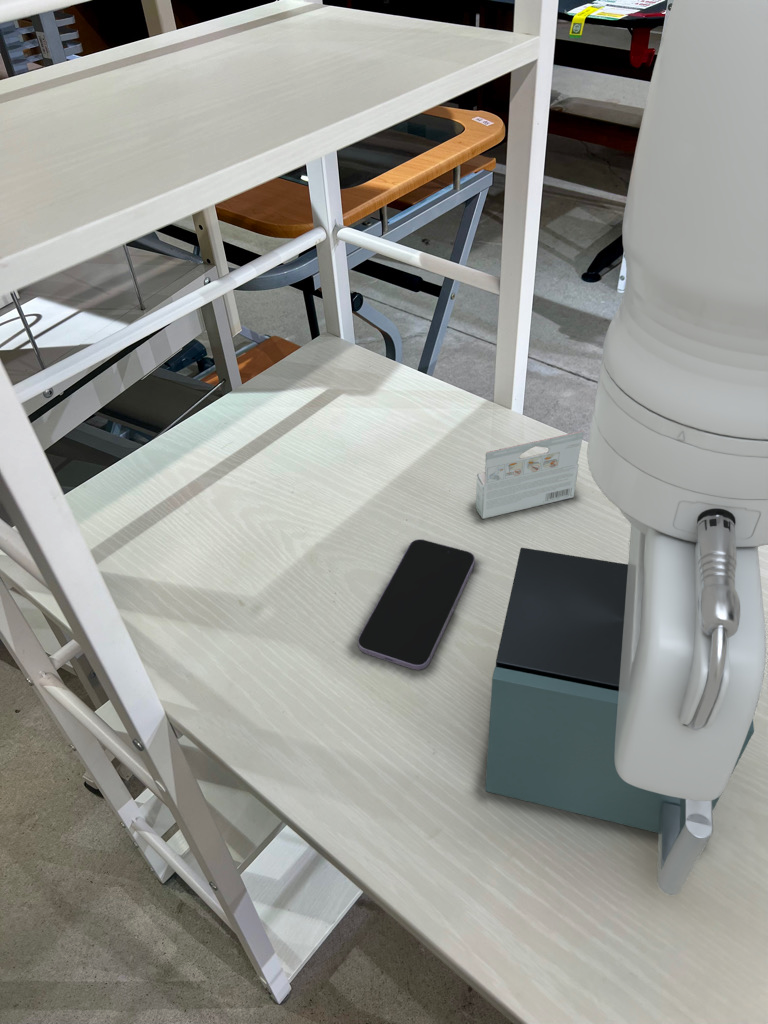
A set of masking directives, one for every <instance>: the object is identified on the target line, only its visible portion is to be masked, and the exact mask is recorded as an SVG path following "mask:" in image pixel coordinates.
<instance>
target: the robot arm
mask: <svg viewBox="0 0 768 1024" xmlns="http://www.w3.org/2000/svg"><path fill="white" fill-rule="evenodd" d="M641 117H642V118H641V123H640V127H639V131H638V136H637V141H636V146H635V151H634V156H633V162H632V165H631V170H630V176H629V177H630V178H629V183H628V189H627V196H626V201H625V207H624V213H623V219H622V228H621V230H622V232H621V233H622V248H623V255H624V260H625V269H626V270H625V271H626V272H625V285H624V289H623V293H622V298H621V299H620V303H619V305H618V308H617V309H616V311H615V313H614V315H613V316H612V319H611V321H610V323H609V325H608V327H607V330H606V334H605V338H604V341H603V345H602V353H601V360H600V365H599V372H598V377H597V384H596V390H595V396H594V403H593V411H592V415H591V424H590V429H589V435H588V442H587V449H586V460H587V465H588V470H589V472H590V475H591V477H592V479H593V481H594V483H595V485H596V486H597V487H598V489H599V490H600V491H601V493H602V494H603V495H604V496H605V498H607V499H608V501H610V503H612V504H613V505H614V506H615V507H616V508H617V509H618V510H619V511H620V513H621V514H622V515H623V517H624V518H625V519H626V520H627V521H628V522H629V524H630V533H629V536H630V537H629V546H628V547H629V548H628V560H627V564H628V573H627V587H626V600H625V614H624V627H623V641H622V654H621V668H620V681H619V695H618V708H617V722H616V735H615V754H614V761H615V768H616V771H617V773H618V774H619V776H620V777H621V778H622V780H624V781H625V782H627V783H628V784H631V785H633V786H635V787H638V788H641V789H645V790H648V791H651V792H655V793H659V794H663V795H667V796H672V797H677V798H682V799H689V800H695V801H711V800H714V799H716V798H718V797H719V796H720V795H721V796H722V795H723V793H724V791H725V789H726V788H727V786H728V783H729V781H730V779H731V777H732V775H731V774H733V773H734V771H733V769H734V767H735V764H736V762H737V759H738V757H739V755H740V752H741V749H742V747H743V744H744V741H745V739H746V736H747V733H748V731H749V728H750V725H751V723H752V720H753V721H754V717H755V713H756V711H757V707H758V703H759V699H760V697H761V693H762V688H763V682H764V676H765V669H766V658H767V629H766V620H765V609H764V599H763V588H762V587H763V586H762V577H761V567H760V566H761V565H760V556H759V547H762V546H768V0H673V2H672V4H671V7H670V11H669V14H668V18H667V20H666V24H665V27H664V30H663V34H662V37H661V41H660V44H659V48H658V52H657V56H656V59H655V62H654V67H653V70H652V75H651V79H650V83H649V87H648V92H647V95H646V100H645V103H644V108H643V112H642V116H641ZM735 768H736V767H735ZM734 770H735V769H734ZM732 772H733V773H732ZM730 776H731V777H730ZM721 796H720V797H721Z"/></svg>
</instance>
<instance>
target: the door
mask: <svg viewBox="0 0 768 1024" xmlns="http://www.w3.org/2000/svg"><path fill="white" fill-rule="evenodd" d="M492 673H493V674H492V678H491V692H490V707H489V708H490V710H489V724H488V738H487V739H488V741H487V757H486V770H485V771H486V772H485V788H484V791H485V792H487V793H491V794H495V795H500V796H503V797H507V798H512V799H516V800H520V801H525V802H528V803H533V804H537V805H541V806H545V807H549V808H554V809H558V810H562V811H566V812H570V813H575V814H579V815H583V816H585V817H591V818H595V819H599V820H603V821H607V822H612V823H616V824H620V825H624V826H628V827H632V828H636V829H639V830H640V829H641V830H644V831H648V832H653V833H656V834H658V837H657V838H658V839H657V875H656V882H657V886H658V888H659V889H660V891H661V892H663V894H665V895H668V896H671V897H672V896H677V895H679V894H680V893H681V891H682V890H683V888H684V886H685V884H686V883H687V881H688V879H689V876H690V874H691V873H692V871H693V870H694V868H695V865H696V864H697V862H698V860H699V858H700V857H701V855H702V853H703V851H704V849H705V847H706V846H707V843H708V842H709V840H710V839H711V836H712V835H713V832H714V817H713V816H714V815H713V813H714V812H713V811H714V809H715V807H716V806H717V804H718V802H719V800H720V797H721V796H722V794H721V795H720V796H719V797H718V798H716V799H714V800H711V801H695V800H689V799H682V798H677V797H672V796H667V795H663V794H659V793H655V792H651V791H648V790H645V789H641V788H638V787H635V786H633V785H631V784H628V783H627V782H625V781H624V780H622V778H621V777H620V776H619V774H618V773H617V771H616V768H615V761H614V754H615V735H616V722H617V708H618V695H619V691H615V690H610V689H605V688H600V687H595V686H590V685H585V684H580V683H575V682H570V681H565V680H559V679H554V678H549V677H544V676H539V675H534V674H529V673H524V672H519V671H514V670H509V669H504V668H499V667H496V666H494V668H493V672H492ZM754 725H755V724H754V719H753V720H752V723H751V725H750V728H749V731H748V733H747V736H746V739H745V741H744V744H743V747H742V749H741V752H740V755H739V757H738V759H737V762H736V764H735V767H734V769H733V772H732V774H733V773H734V771H735V769H736V767H737V765H738V763H739V761H740V759H741V758H742V756H743V754H744V752H745V750H746V748H747V746H748V744H749V742H750V740H751V738H752V737H753V735H754V733H755V726H754ZM732 774H731V776H730V778H731V777H732Z"/></svg>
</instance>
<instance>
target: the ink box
mask: <svg viewBox="0 0 768 1024" xmlns="http://www.w3.org/2000/svg"><path fill="white" fill-rule="evenodd" d="M583 437H584V430H581V431H576V432H572V433H567V434H563V435H558V436H554V437H550V438H545V439H540V440H536V441H531V442H527V443H522V444H518V445H513V446H508V447H504V448H499V449H495V450H490V451H487V452H485V466H484V472H480V473H476V483H475V484H476V487H475V489H476V490H475V492H476V493H475V494H476V495H475V509H476V511H477V513H478V514H479V516H480V518H481V519H488V518H493V517H497V516H501V515H506V514H510V513H513V512H518V511H522V510H526V509H530V508H534V507H539V506H542V505H547V504H552V503H556V502H561V501H564V500H568V499H572V498H574V497H575V492H576V485H577V479H578V472H579V466H580V465H579V460H580V453H581V448H582V442H583ZM535 447H539V448H544V449H548V451H546V452H542V453H538V454H534V455H529V456H525V457H521V455H522V454H524V453H526V452H527V451H529V450H531V449H532V448H535Z"/></svg>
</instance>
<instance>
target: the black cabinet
mask: <svg viewBox="0 0 768 1024" xmlns="http://www.w3.org/2000/svg"><path fill="white" fill-rule="evenodd" d="M515 567H516V568H515V572H514V576H513V581H512V584H511V585H512V586H511V592H510V595H509V600H508V603H507V608H506V613H505V618H504V623H503V628H502V632H501V637H500V641H499V645H498V650H497V654H496V659H495V667H499V668H504V669H509V670H514V671H519V672H524V673H529V674H534V675H539V676H544V677H549V678H554V679H559V680H565V681H570V682H575V683H580V684H585V685H590V686H595V687H600V688H605V689H610V690H615V691H619V681H620V668H621V654H622V641H623V627H624V614H625V600H626V587H627V573H628V563H623V562H622V563H621V562H616V561H608V560H603V559H596V558H590V557H585V556H584V557H583V556H577V555H571V554H565V553H558V552H552V551H545V550H541V549H540V550H539V549H535V548H527V547H520V550H519V553H518V558H517V563H516V566H515Z"/></svg>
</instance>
